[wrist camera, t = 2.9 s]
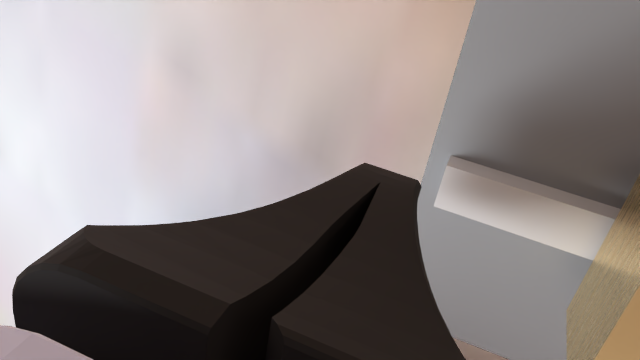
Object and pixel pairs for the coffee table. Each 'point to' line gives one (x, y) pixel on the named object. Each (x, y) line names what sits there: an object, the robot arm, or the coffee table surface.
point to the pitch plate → (530, 167)
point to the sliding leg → (610, 294)
